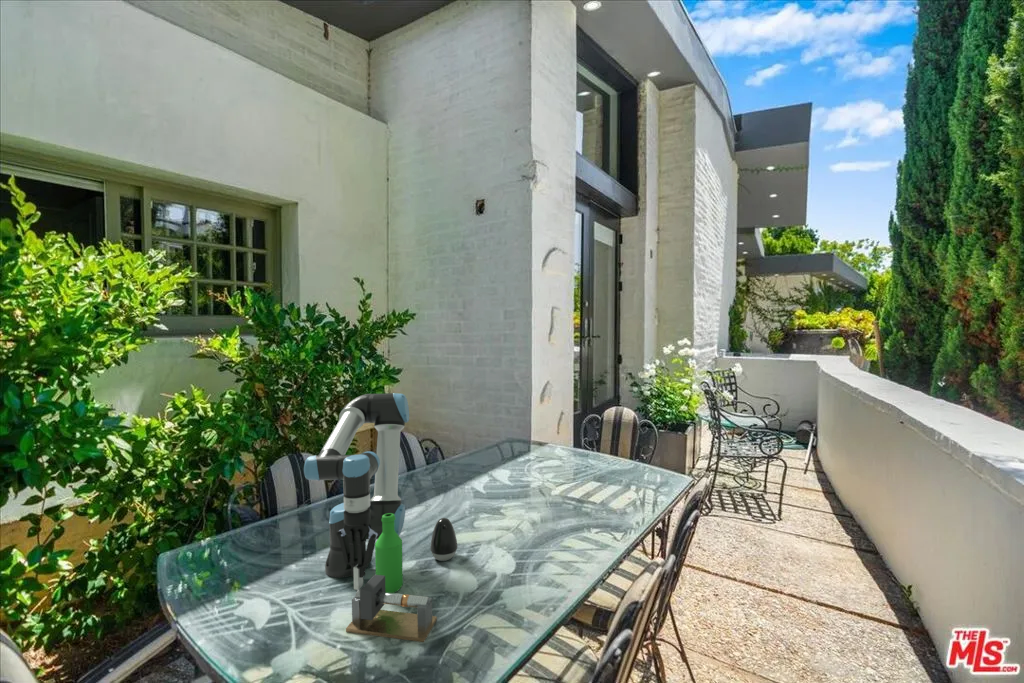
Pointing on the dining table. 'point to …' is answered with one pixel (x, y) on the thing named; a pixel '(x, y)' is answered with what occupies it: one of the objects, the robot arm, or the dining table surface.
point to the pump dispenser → (443, 540)
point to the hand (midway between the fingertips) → (358, 586)
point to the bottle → (389, 555)
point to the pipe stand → (395, 617)
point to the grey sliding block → (371, 597)
